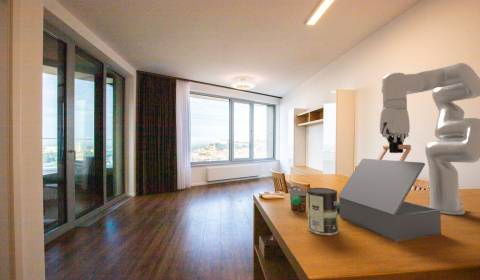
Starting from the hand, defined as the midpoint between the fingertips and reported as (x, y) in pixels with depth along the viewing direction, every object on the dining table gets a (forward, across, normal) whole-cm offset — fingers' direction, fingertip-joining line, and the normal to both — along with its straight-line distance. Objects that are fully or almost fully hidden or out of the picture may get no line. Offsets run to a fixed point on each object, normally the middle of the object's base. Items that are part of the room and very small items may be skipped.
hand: (396, 152), depth 83 cm
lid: (+9, +8, 0) cm, 11 cm away
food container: (+27, +29, -27) cm, 48 cm away
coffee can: (+27, +32, -3) cm, 42 cm away
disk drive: (+28, +13, -22) cm, 38 cm away
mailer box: (+27, +7, 0) cm, 28 cm away
